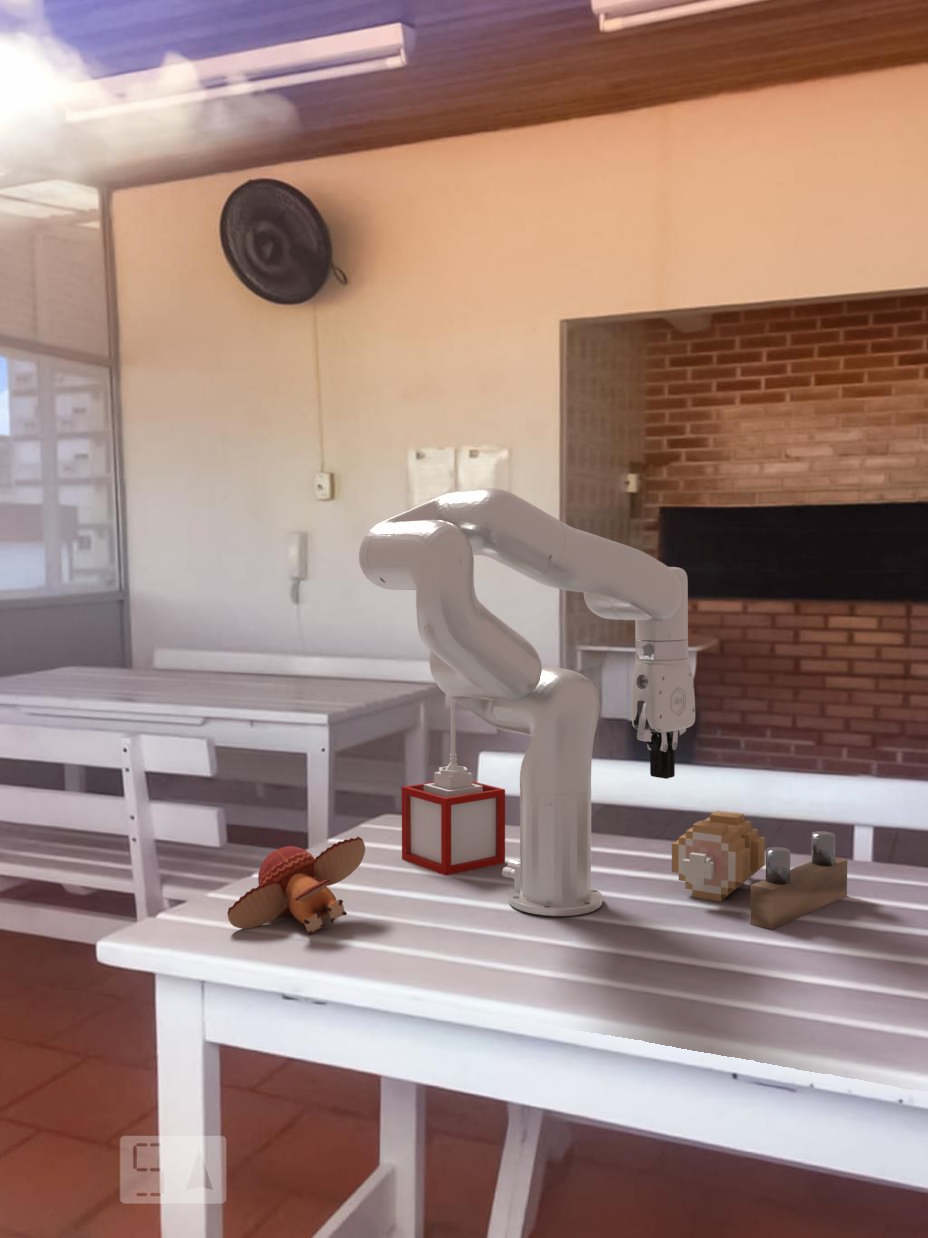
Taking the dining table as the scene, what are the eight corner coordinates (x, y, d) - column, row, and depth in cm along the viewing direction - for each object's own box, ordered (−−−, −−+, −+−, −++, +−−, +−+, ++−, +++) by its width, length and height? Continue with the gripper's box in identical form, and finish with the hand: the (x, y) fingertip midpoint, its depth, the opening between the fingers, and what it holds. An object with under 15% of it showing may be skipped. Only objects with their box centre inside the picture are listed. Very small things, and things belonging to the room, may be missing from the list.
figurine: (400, 904, 140) (347, 854, 152) (385, 850, 136) (331, 803, 148) (264, 986, 131) (219, 925, 143) (243, 930, 128) (199, 873, 140)
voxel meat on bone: (772, 879, 157) (773, 811, 157) (733, 913, 142) (733, 837, 141) (705, 869, 162) (706, 803, 162) (660, 901, 147) (661, 827, 147)
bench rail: (750, 923, 137) (751, 853, 137) (826, 891, 151) (827, 827, 151) (771, 929, 135) (772, 858, 135) (846, 895, 149) (847, 830, 149)
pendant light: (460, 847, 175) (459, 662, 174) (505, 862, 166) (505, 667, 165) (401, 859, 168) (401, 666, 167) (445, 875, 159) (445, 672, 158)
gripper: (652, 657, 150) (653, 788, 151) (712, 649, 160) (712, 772, 161) (609, 654, 155) (610, 781, 156) (669, 647, 166) (670, 766, 167)
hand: (662, 776), depth 159 cm, fingers closed
